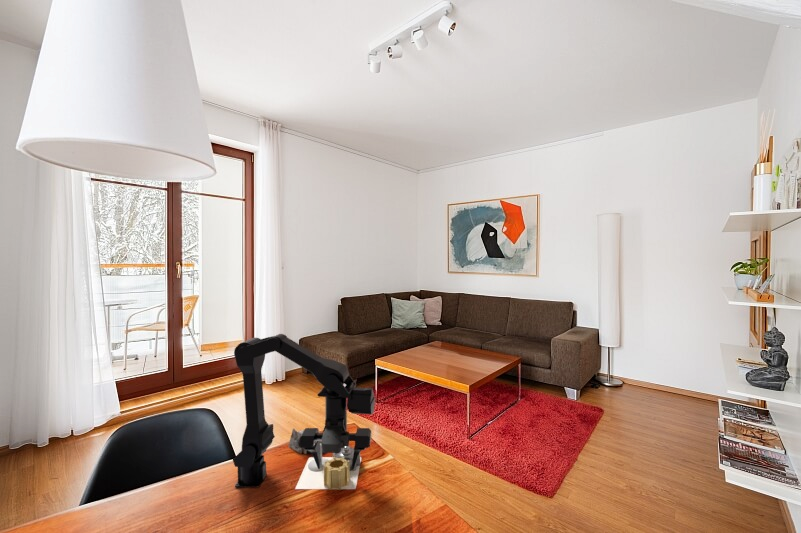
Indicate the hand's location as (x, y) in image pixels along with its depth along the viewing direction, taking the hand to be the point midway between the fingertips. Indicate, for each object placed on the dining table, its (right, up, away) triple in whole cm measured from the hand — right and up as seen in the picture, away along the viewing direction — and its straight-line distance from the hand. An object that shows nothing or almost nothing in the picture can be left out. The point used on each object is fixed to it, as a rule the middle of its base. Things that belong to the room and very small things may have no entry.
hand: (336, 468), depth 99 cm
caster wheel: (-11, -5, +18) cm, 22 cm away
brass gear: (0, -4, 0) cm, 4 cm away
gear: (+2, -4, +8) cm, 9 cm away
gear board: (-2, -5, +5) cm, 7 cm away
